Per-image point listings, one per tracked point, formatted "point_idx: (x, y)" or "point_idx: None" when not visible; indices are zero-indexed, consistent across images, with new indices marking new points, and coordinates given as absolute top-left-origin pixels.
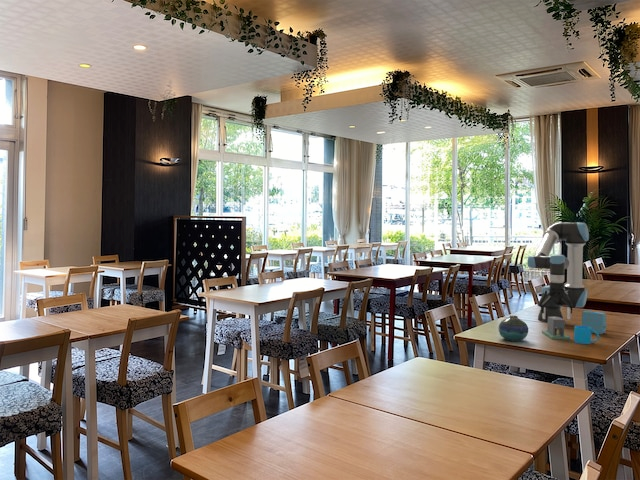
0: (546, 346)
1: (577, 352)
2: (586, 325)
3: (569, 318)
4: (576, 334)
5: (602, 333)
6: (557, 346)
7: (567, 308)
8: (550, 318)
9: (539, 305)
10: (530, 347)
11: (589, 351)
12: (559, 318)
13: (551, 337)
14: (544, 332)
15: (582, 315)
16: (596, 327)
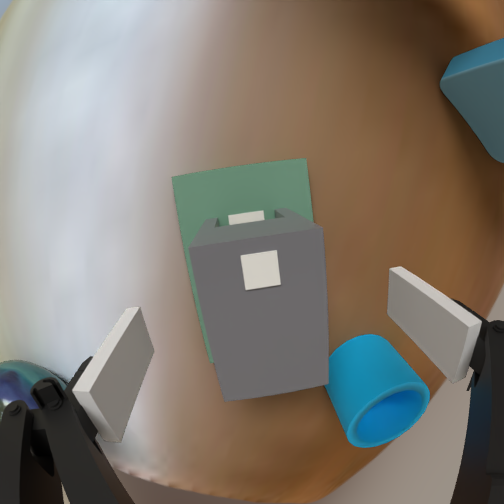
0: (177, 460)
1: (270, 487)
2: (475, 97)
3: (396, 317)
4: (336, 412)
5: (496, 158)
6: (218, 456)
7: (457, 326)
8: (207, 331)
9: (45, 454)
10: (127, 469)
11: (315, 471)
12: (302, 331)
13: (210, 360)
14: (182, 238)
15: (501, 66)
16: (501, 139)
